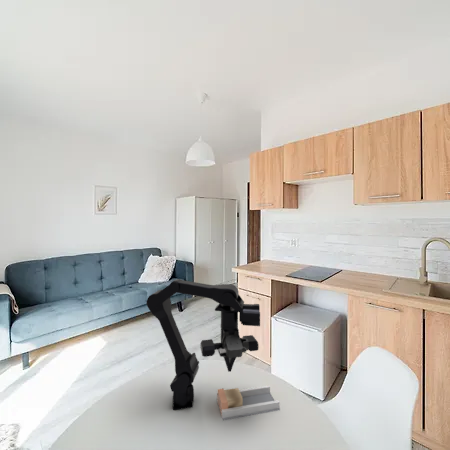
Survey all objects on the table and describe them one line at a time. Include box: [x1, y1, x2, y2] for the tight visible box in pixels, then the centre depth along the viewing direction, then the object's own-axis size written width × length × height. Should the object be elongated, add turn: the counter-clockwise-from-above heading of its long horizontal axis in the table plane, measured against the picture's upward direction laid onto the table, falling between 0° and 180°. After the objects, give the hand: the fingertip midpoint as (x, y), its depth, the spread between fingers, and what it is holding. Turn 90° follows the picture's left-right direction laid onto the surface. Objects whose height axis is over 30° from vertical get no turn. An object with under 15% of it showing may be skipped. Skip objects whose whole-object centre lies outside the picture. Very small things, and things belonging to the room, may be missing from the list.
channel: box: [216, 384, 281, 421], centre depth 80 cm, size 19×10×5 cm, turn 103°
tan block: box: [224, 387, 243, 408], centre depth 79 cm, size 5×5×4 cm
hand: (229, 371), depth 80 cm, fingers closed
